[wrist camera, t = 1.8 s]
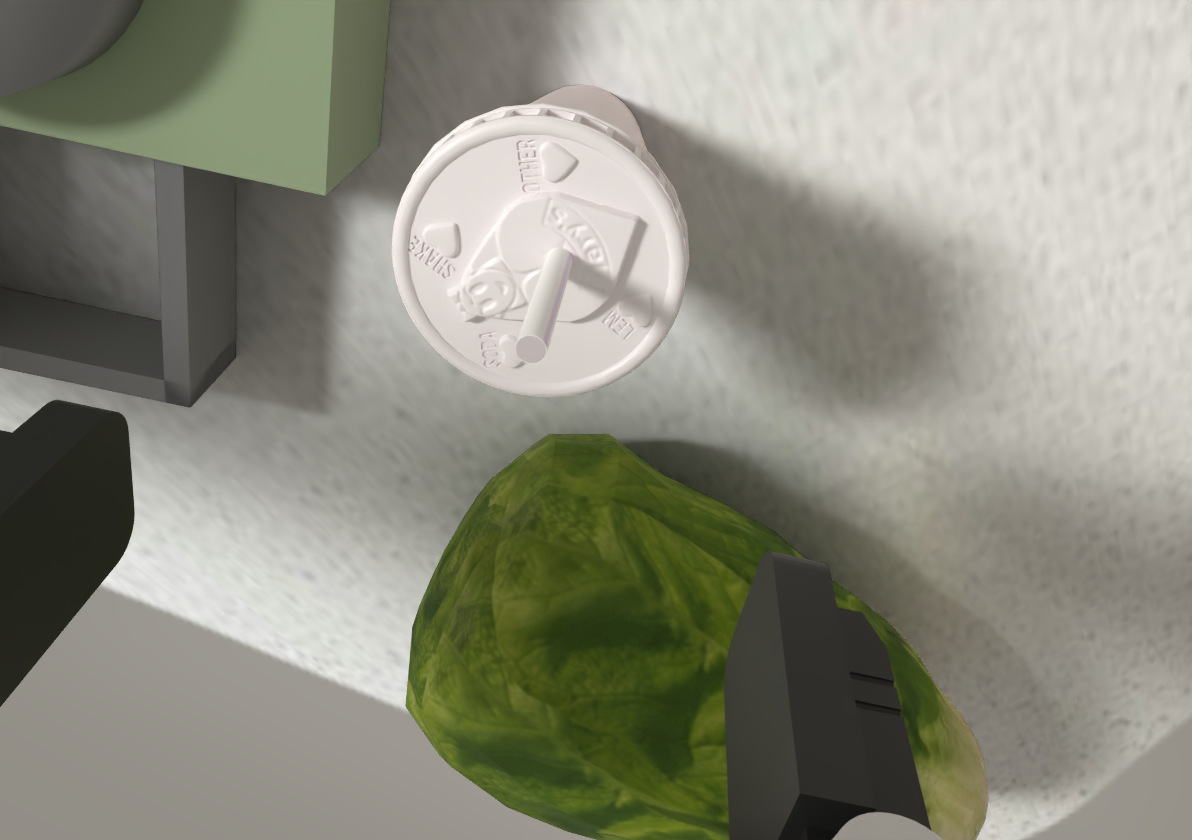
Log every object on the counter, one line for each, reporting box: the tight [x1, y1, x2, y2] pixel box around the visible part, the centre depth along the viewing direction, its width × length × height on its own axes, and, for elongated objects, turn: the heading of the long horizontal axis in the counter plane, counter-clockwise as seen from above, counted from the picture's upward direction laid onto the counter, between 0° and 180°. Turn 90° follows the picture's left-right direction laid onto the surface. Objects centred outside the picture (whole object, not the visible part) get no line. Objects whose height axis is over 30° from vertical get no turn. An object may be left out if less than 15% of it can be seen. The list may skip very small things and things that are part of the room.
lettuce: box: [406, 434, 989, 840], centre depth 32 cm, size 12×21×11 cm, turn 59°
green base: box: [0, 0, 391, 408], centre depth 25 cm, size 18×20×7 cm
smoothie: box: [392, 85, 689, 397], centre depth 22 cm, size 6×6×14 cm
